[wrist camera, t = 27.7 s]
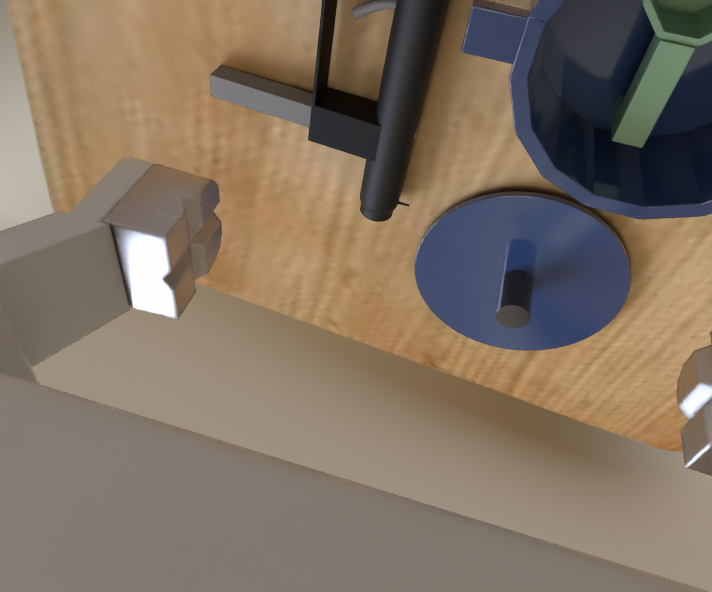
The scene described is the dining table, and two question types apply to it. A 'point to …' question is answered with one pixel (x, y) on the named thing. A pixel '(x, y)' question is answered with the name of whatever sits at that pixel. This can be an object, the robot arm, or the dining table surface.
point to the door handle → (358, 98)
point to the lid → (522, 270)
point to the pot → (599, 104)
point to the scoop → (660, 65)
